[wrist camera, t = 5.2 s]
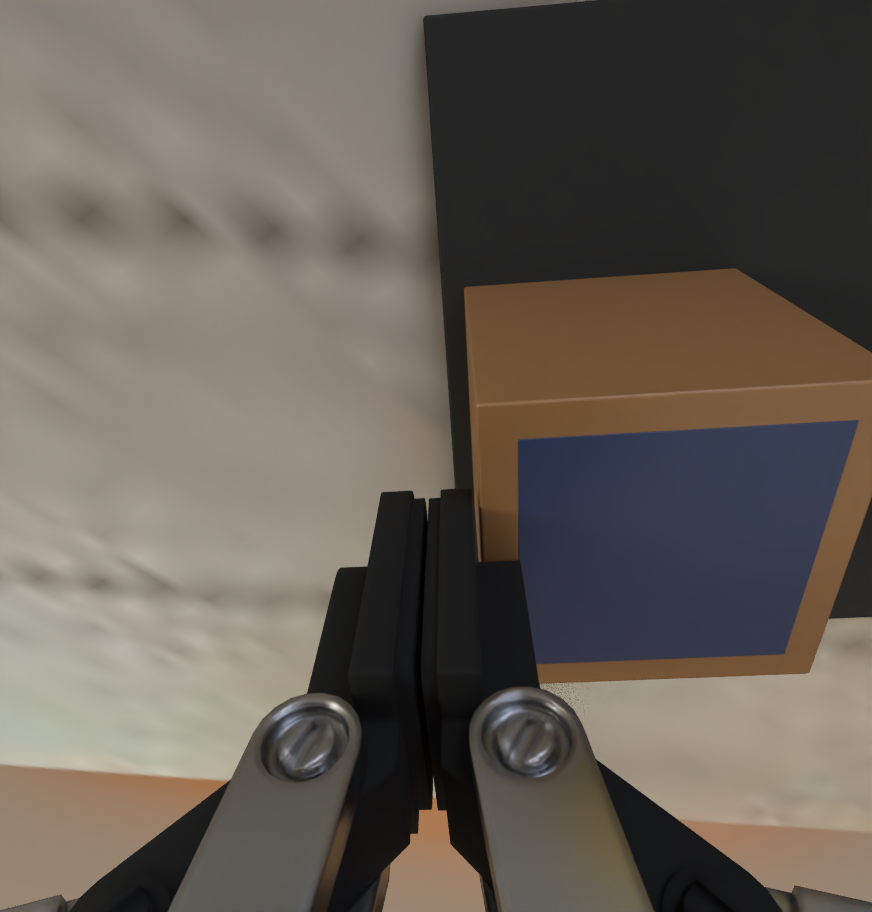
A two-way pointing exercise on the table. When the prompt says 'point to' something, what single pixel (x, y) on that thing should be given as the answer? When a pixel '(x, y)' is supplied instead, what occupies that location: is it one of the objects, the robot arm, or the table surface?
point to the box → (667, 470)
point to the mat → (656, 162)
